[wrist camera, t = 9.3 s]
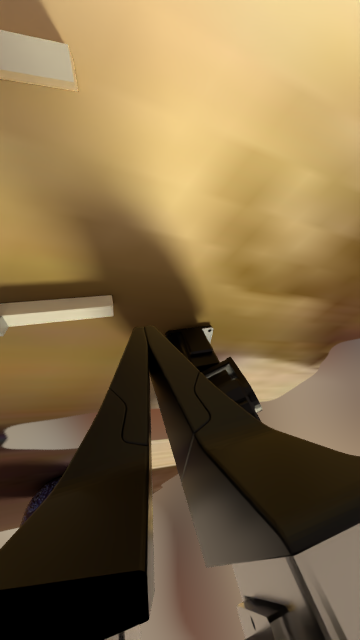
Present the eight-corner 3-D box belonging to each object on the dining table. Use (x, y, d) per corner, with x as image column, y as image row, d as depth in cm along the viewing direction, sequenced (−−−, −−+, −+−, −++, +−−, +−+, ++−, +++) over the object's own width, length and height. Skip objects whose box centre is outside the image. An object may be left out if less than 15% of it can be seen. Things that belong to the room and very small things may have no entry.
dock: (113, 304, 21) (113, 323, 19) (1, 314, 19) (-15, 337, 16) (73, 59, 11) (63, 32, 9) (-182, 9, 9) (-295, -50, 6)
